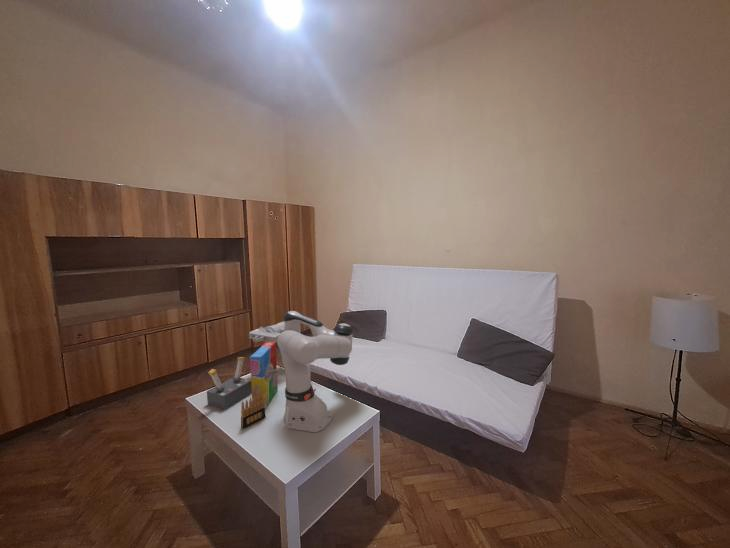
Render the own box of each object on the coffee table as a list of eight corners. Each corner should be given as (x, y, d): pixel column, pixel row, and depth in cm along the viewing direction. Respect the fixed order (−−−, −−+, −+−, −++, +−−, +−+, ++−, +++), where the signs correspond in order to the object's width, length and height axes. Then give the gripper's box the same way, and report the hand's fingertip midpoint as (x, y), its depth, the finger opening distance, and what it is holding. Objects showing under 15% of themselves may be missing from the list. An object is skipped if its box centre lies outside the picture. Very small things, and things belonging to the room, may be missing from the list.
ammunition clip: (243, 429, 122) (241, 403, 121) (241, 427, 123) (239, 401, 122) (265, 417, 130) (264, 392, 129) (263, 416, 132) (262, 391, 130)
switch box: (252, 392, 152) (251, 380, 151) (224, 410, 136) (223, 395, 136) (235, 388, 157) (235, 375, 156) (207, 404, 141) (206, 390, 141)
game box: (263, 412, 134) (260, 357, 131) (252, 412, 134) (249, 357, 131) (277, 389, 155) (275, 341, 152) (268, 389, 155) (265, 341, 152)
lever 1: (225, 388, 141) (216, 369, 136) (221, 392, 140) (212, 373, 134) (220, 387, 143) (211, 368, 138) (217, 390, 141) (207, 372, 136)
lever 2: (240, 381, 150) (245, 357, 152) (236, 382, 148) (241, 357, 150) (235, 380, 151) (241, 356, 154) (232, 380, 149) (237, 357, 152)
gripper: (286, 340, 169) (269, 348, 156) (259, 336, 177) (242, 343, 165) (285, 330, 168) (268, 337, 156) (259, 326, 177) (241, 332, 164)
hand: (254, 340), depth 160 cm, fingers closed
